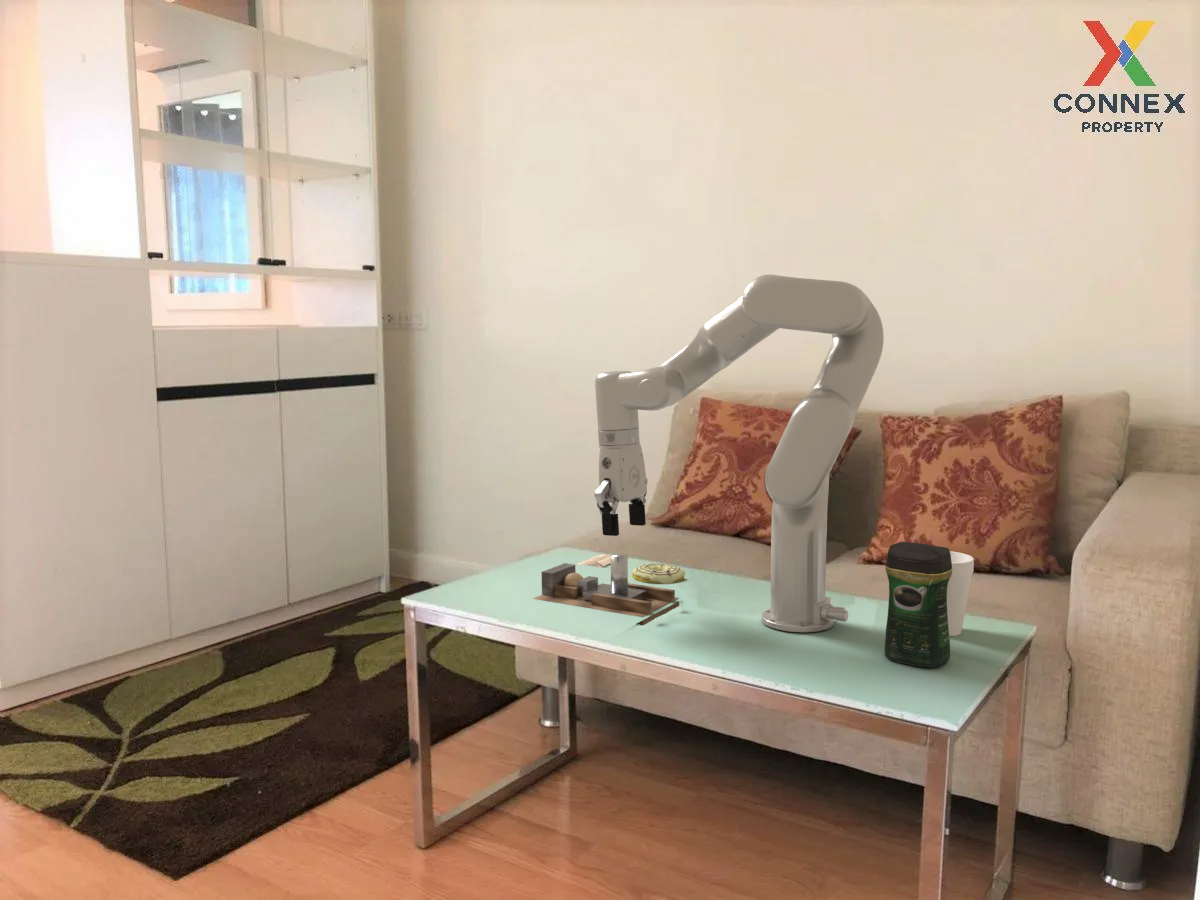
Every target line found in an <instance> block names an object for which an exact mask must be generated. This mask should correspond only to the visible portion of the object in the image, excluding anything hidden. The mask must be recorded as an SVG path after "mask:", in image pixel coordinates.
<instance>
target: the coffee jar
mask: <svg viewBox="0 0 1200 900" xmlns="http://www.w3.org/2000/svg"><path fill="white" fill-rule="evenodd" d="M886 555H887V556H886V563H885V573H886V575H887V578H888V607H887V608H888V609H887V617H886V625H885V635H884V642H883V645H884V647H883V654H884V656H885V657H886V658H887V659H889V660H890V661H894V662H898V663H900V664H901V663H902V664H904V665H905V664H906V665H910V666H915V667H922V668H934V667H941V666H943V665H945V664H946V663H947V662H948V661H949V660H950V659H951V644H950V642H951V640H950V636H949V628H948V615H947V586H948V582H949V579H950V577H951V575H952V562H951V554H950V548H948V547H947V546H946V547H945V546H939V545H932V544H928V543H927V544H925V543H921V542H920V543H918V542H910V541H899V542H896V543H894V544H891V545H890V546H889V547H888V551H887V554H886Z"/></svg>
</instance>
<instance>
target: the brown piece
mask: <svg viewBox="0 0 1200 900" xmlns="http://www.w3.org/2000/svg"><path fill="white" fill-rule="evenodd" d="M570 573H576V564H575V563H574V564H572V563H566V562H564V563H561V564H559V565H556V566H554V567H550V568H548V569H546V570H543V571H541V594H540V595H537V596H536V597H533V598H532V599H533V600H536V601H537V600H539V601H543V602H550V603H556V604H563V605H567V606H574V607H580V608H584V609H591V610H597V611H598V610H599V611H604V612H610V613H614V614H615V613H616V614H622V615H628V616H634V617H639V618H644V619H642V620H641V621H638V622H637V623H636V624H635V625H639V624H640V626H644V625H646V624H648V623H651V622H652V621H654V620H656V619H657V617H658V618H659V617H662V615H665V614H667V613H669V612H670V610H671V611H673V610H674V609H676V608H678V607H680V598H679V597H676V596H675V595H676V594H675V593H676V591H675V589H671V588H670V589H669V588H663V587H658V586H657V587H655V586H649V585H643V584H636V583H630V582H628V587H629V588H636V589H642V590H647V598H646V599H644V600H637V599H631V598H624V597H618V596H612V595H605V594H599V593H593V594H591V601H590V600H584V599H583V597H580V596H578V588H577V587H571V586H564V579H565V577H566V576H567V575H568V574H570ZM677 600H679V601H677ZM675 601H676V602H675ZM673 602H675V603H673ZM672 603H673V604H672ZM668 605H669V606H668ZM665 606H667V607H665ZM663 607H665V608H663ZM662 608H663V609H662ZM660 609H661V610H660ZM672 609H673V610H672ZM658 610H659V611H658ZM656 611H658V612H656ZM654 612H656V613H654ZM652 613H653V614H652ZM650 614H652V615H650ZM648 615H650V616H648ZM647 616H648V617H647ZM645 617H646V618H645ZM655 618H656V619H655Z"/></svg>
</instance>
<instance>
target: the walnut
mask: <svg viewBox="0 0 1200 900" xmlns="http://www.w3.org/2000/svg"><path fill="white" fill-rule="evenodd" d="M583 578H584V577H583V575H581V574H580V573H578V572H575V573H570V574H568V575H567V576H566V577H565V579H564V586H571V587H577V588H578V581H579V580H581V579H583Z"/></svg>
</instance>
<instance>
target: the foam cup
mask: <svg viewBox="0 0 1200 900" xmlns="http://www.w3.org/2000/svg"><path fill="white" fill-rule="evenodd" d="M950 554H951V562H952V575H951V577H950V579H949V582H948V586H947V615H948V628H949V637H956V636H959V635H961V633H962V630H963V626H964V619H965V614H966V609H967V602H968V599H969V591H970V587H971V581H972V577H973V576H972V575H973V573H974V568H975V566H974V565H975V562H974V561H975V558H974V557H973V556H972V555H969V554H966V553H964V552H963V553H962V552H958V551H953V550H952V551H950Z"/></svg>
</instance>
